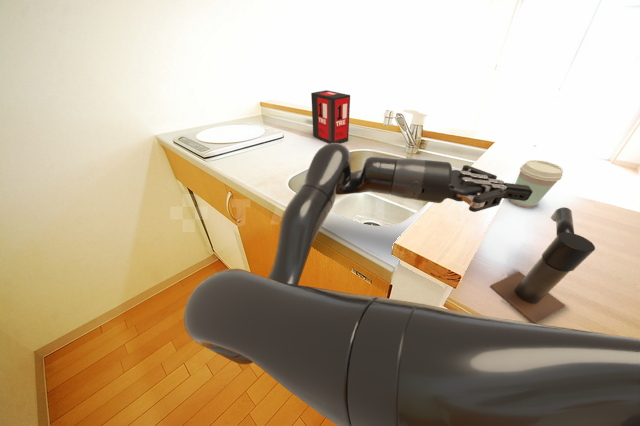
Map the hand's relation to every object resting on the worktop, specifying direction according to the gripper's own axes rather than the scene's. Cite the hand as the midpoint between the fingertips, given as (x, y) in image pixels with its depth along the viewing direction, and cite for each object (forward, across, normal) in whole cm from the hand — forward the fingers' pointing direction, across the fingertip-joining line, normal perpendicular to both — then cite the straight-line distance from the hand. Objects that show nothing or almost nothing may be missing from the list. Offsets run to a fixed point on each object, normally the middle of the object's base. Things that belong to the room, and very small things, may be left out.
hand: (528, 193), depth 38 cm
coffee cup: (+14, -28, -18) cm, 36 cm away
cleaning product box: (-54, -66, -18) cm, 87 cm away
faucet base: (+5, +7, -18) cm, 20 cm away
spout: (+7, +2, -7) cm, 10 cm away
